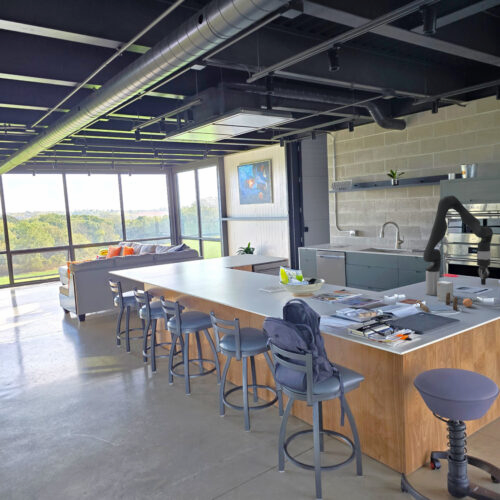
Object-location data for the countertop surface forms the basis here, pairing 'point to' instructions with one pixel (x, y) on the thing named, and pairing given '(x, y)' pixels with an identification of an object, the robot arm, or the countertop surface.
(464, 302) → the ball
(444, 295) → the small box
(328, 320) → the countertop surface
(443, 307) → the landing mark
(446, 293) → the post
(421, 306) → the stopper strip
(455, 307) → the post
